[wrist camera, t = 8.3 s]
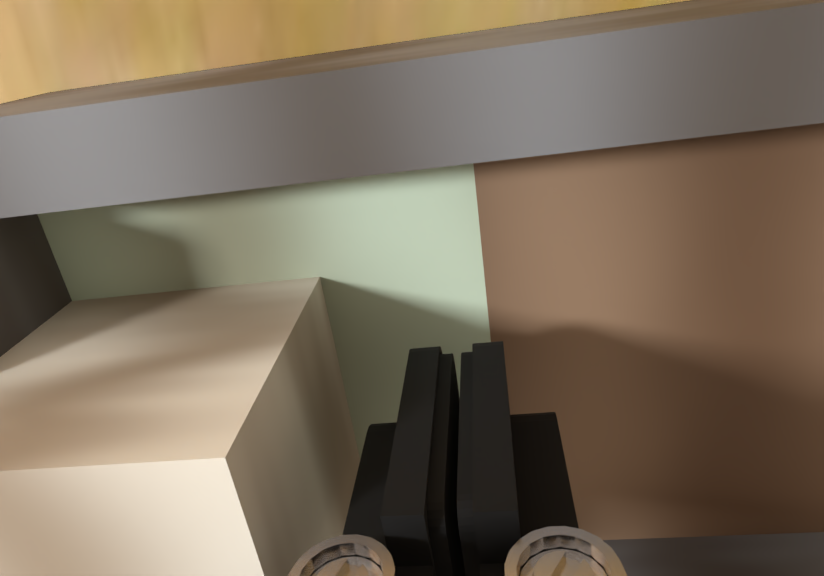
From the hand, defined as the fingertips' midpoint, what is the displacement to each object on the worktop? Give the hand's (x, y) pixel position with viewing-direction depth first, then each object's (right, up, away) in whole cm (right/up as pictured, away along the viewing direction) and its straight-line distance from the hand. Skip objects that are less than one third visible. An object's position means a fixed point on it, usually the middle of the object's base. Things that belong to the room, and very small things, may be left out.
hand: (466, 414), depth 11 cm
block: (-5, 0, +2) cm, 5 cm away
